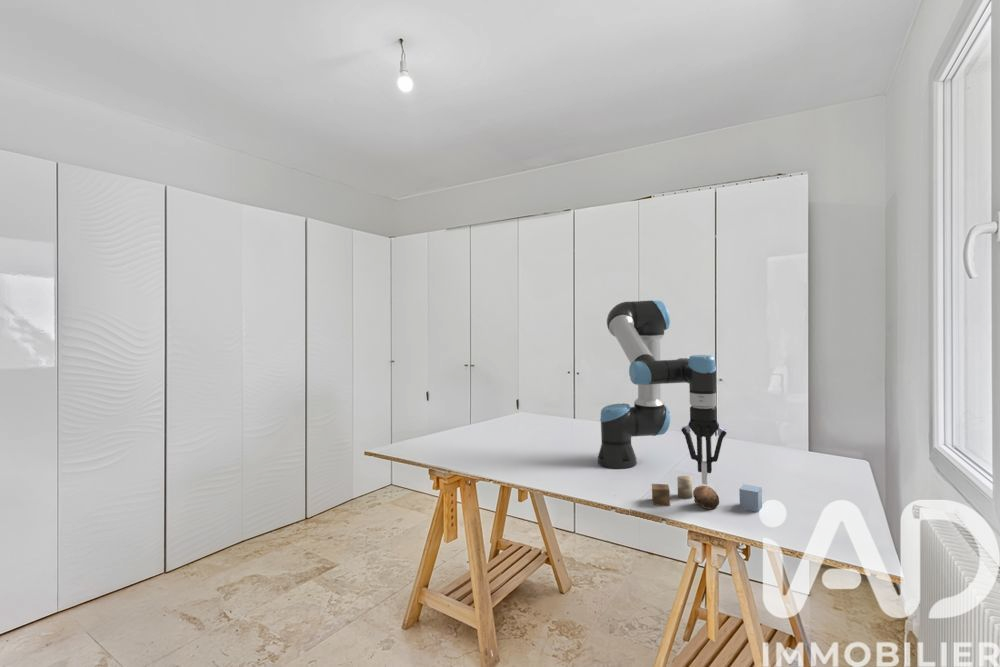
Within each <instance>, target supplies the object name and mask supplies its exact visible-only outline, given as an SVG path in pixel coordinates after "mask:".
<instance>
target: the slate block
mask: <svg viewBox="0 0 1000 667" xmlns="http://www.w3.org/2000/svg"><path fill="white" fill-rule="evenodd" d="M738 491H739V509H741V510H745V511H751V512H754V513H759V512H760V510H762V509H763V489H762V486H757V485H752V484H751V485H750V484H744V483H743V484H742V485H741V486H740V488H739V490H738Z"/></svg>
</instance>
